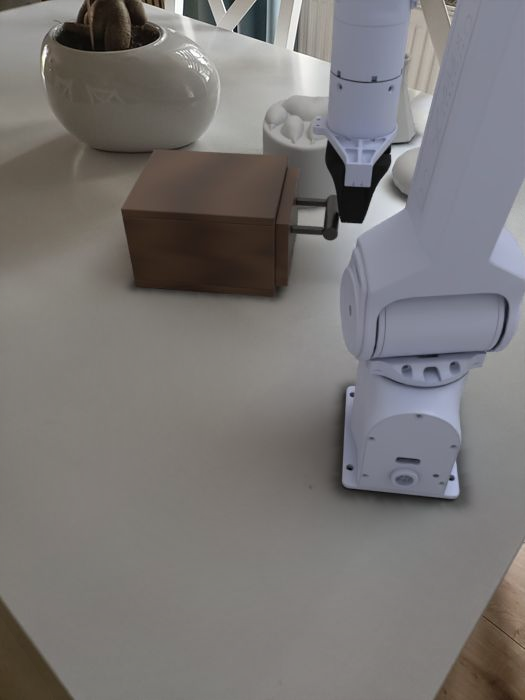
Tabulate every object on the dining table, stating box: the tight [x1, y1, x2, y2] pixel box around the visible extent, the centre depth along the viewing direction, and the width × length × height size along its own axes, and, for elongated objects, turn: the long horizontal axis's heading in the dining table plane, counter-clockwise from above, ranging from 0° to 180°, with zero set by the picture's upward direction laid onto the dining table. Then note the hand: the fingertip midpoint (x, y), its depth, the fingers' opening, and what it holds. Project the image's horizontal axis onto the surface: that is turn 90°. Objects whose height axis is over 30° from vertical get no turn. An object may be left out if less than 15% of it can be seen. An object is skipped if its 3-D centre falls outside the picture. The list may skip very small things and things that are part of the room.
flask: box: [391, 52, 417, 144], centre depth 81 cm, size 7×7×10 cm
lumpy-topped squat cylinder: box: [262, 94, 336, 209], centre depth 72 cm, size 10×13×9 cm
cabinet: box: [120, 148, 288, 297], centre depth 61 cm, size 14×12×9 cm
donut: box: [391, 146, 420, 197], centre depth 72 cm, size 10×4×10 cm
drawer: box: [275, 167, 340, 287], centre depth 60 cm, size 17×10×7 cm, turn 82°
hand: (351, 219), depth 59 cm, fingers closed
